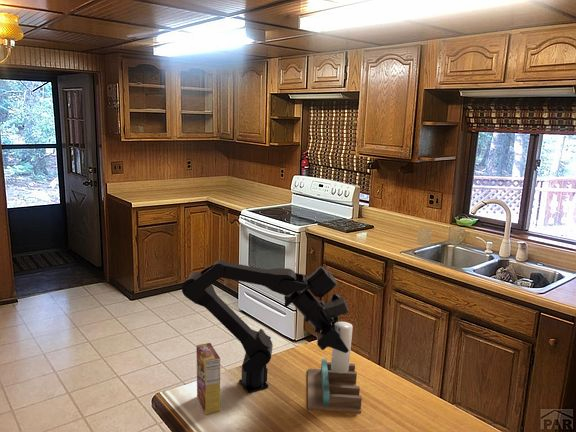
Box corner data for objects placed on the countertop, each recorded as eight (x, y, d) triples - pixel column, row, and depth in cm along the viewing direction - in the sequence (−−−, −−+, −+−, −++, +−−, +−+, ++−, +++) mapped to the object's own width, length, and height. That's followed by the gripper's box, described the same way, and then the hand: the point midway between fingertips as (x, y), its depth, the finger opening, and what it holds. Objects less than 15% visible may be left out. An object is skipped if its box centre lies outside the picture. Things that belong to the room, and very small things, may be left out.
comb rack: (361, 412, 123) (362, 396, 122) (307, 409, 123) (308, 393, 122) (353, 373, 142) (354, 359, 141) (307, 370, 143) (308, 356, 142)
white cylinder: (337, 374, 128) (341, 330, 126) (327, 366, 132) (330, 323, 130) (352, 370, 131) (356, 327, 128) (341, 362, 135) (345, 320, 132)
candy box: (195, 396, 126) (195, 344, 123) (210, 393, 128) (211, 341, 125) (203, 415, 118) (204, 360, 115) (220, 412, 120) (221, 357, 117)
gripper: (334, 301, 118) (373, 345, 120) (330, 278, 136) (364, 316, 138) (300, 328, 120) (340, 371, 121) (301, 301, 138) (336, 339, 140)
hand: (346, 347), depth 130 cm, fingers closed on white cylinder, 5 cm apart
